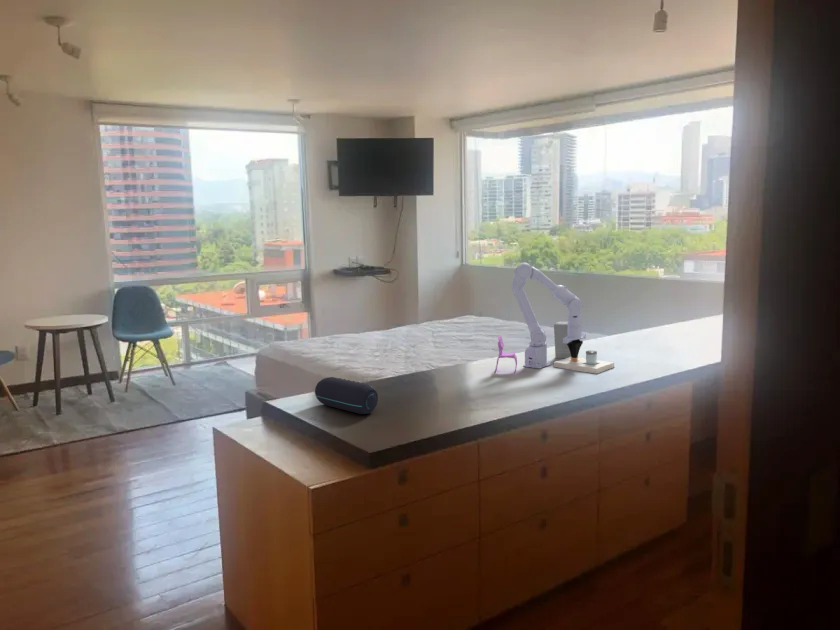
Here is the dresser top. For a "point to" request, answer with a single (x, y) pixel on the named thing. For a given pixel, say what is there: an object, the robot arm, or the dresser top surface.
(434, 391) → the dresser top surface
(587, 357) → the cup
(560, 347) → the skincare box
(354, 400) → the portable speaker
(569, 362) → the housing
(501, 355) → the toy chair
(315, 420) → the dresser top surface
